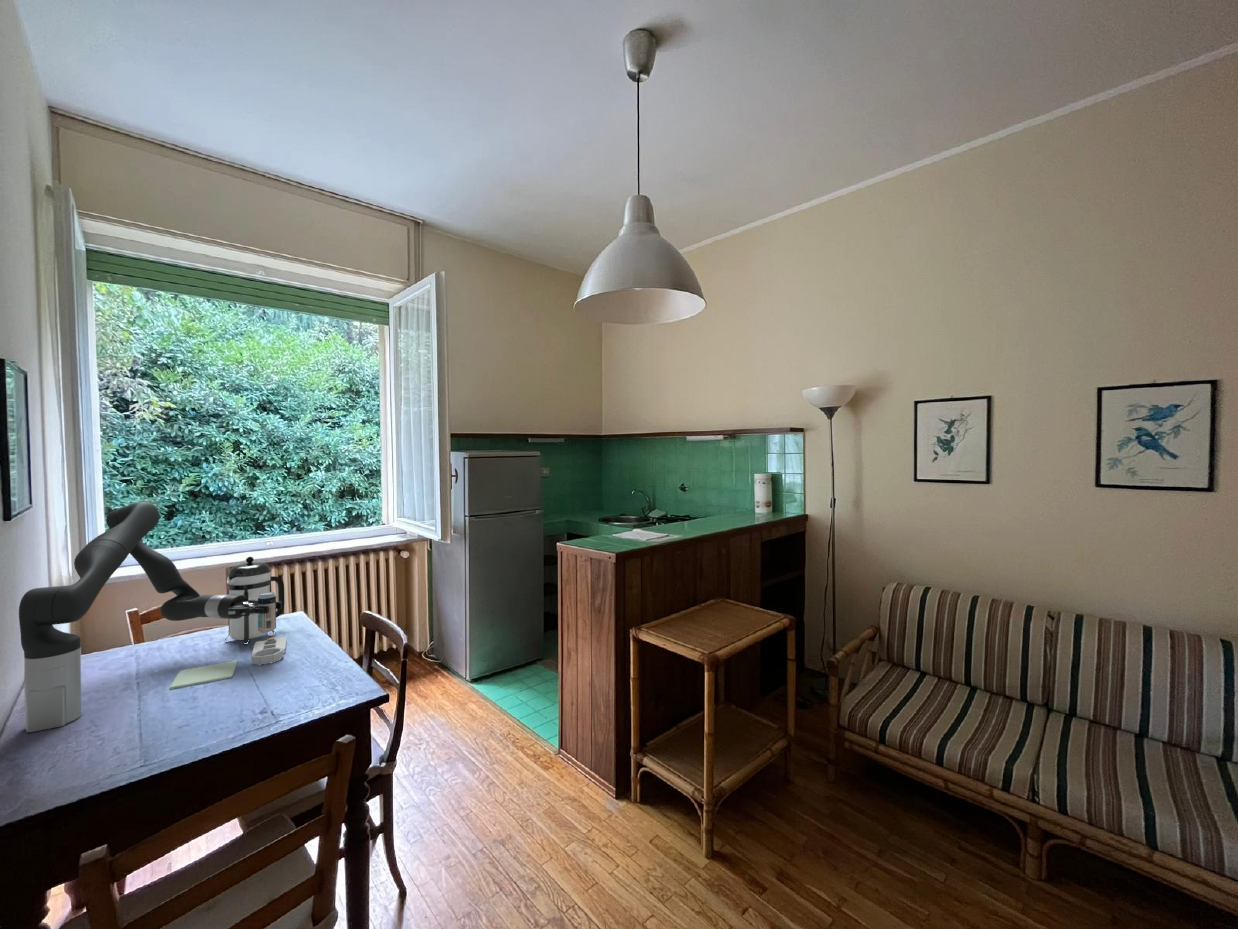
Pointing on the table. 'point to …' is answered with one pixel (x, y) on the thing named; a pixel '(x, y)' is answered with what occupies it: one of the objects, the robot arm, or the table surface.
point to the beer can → (267, 620)
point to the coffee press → (251, 595)
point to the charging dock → (268, 650)
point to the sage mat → (204, 674)
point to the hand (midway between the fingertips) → (274, 607)
